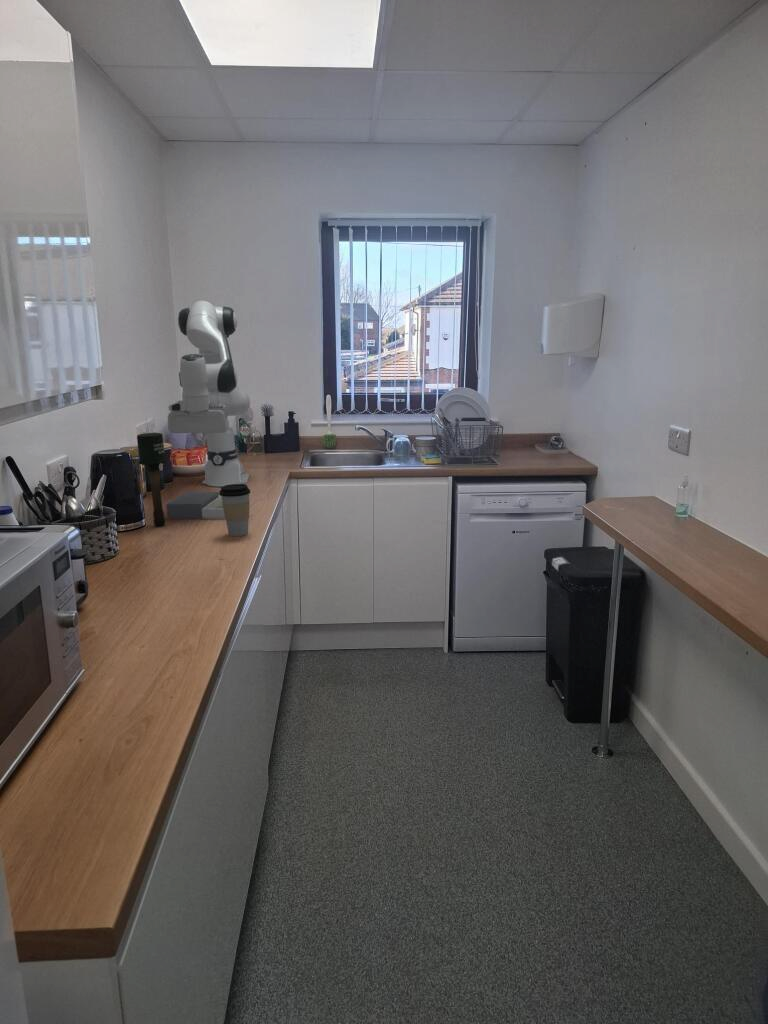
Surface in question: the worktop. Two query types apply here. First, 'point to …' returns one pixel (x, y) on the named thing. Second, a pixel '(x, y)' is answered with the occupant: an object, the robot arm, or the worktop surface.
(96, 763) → the worktop surface
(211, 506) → the box
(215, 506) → the tile
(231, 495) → the coffee cup
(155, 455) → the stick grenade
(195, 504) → the dark grey slab
